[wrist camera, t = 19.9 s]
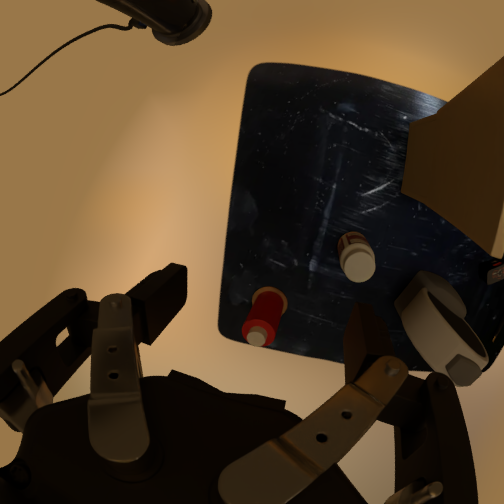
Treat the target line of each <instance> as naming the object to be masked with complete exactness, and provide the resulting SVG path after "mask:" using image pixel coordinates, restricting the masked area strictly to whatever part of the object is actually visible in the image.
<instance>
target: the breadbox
mask: <svg viewBox="0 0 504 504" xmlns="http://www.w3.org/2000/svg"><path fill="white" fill-rule="evenodd" d="M436 121H437V114H434V115H431V116H428V117H425V118H422V119H420V120H417V121H414V122H411V123H410V125H409V136H408V146H407V154H406V162H405V169H404V176H403V182H402V188H401V193H403V194H405V195H407V196H409V197H411V198H414V199H416V200H418V201H420V202H422V203H424V204H426V200H427V194H428V189H429V183H430V177H431V170H432V163H433V155H434V146H435V135H436Z"/></svg>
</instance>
